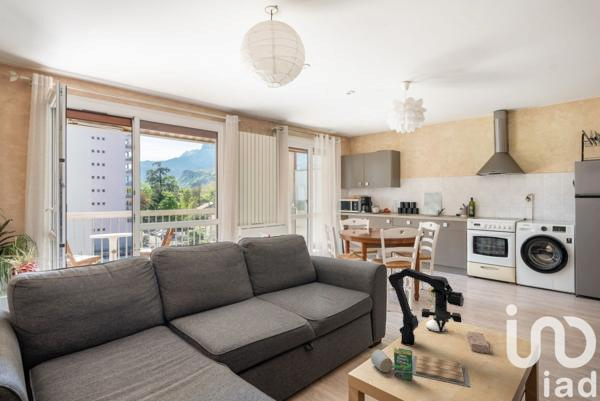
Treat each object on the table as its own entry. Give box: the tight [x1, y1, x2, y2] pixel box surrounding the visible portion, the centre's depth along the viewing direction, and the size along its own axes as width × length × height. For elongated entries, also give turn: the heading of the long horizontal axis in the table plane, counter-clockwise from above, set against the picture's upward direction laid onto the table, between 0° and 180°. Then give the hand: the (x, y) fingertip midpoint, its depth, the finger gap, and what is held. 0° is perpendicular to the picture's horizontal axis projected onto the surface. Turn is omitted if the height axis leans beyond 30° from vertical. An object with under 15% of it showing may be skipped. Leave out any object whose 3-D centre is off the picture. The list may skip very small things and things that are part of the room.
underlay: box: [412, 355, 470, 387], centre depth 148 cm, size 24×17×1 cm
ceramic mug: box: [370, 349, 394, 373], centre depth 150 cm, size 11×8×8 cm
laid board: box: [416, 363, 464, 384], centre depth 144 cm, size 20×7×1 cm, turn 66°
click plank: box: [416, 354, 463, 372], centre depth 151 cm, size 20×7×1 cm, turn 66°
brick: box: [466, 331, 490, 354], centre depth 171 cm, size 17×8×5 cm, turn 159°
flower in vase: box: [425, 286, 447, 332], centre depth 192 cm, size 13×11×25 cm
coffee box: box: [393, 346, 414, 382], centre depth 142 cm, size 8×3×13 cm, turn 61°
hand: (440, 331), depth 162 cm, fingers closed
